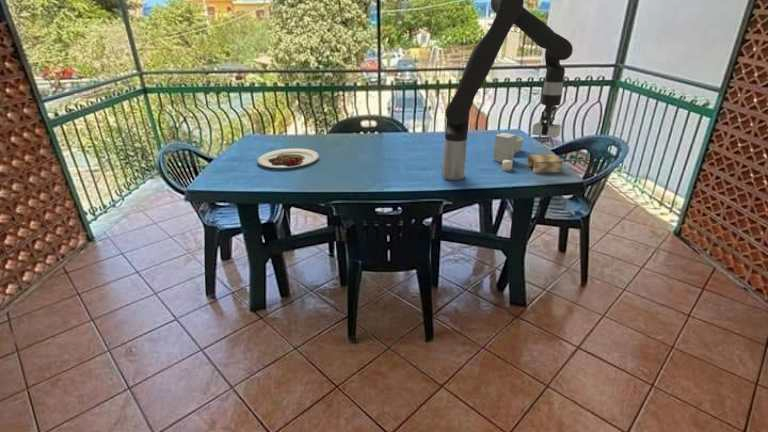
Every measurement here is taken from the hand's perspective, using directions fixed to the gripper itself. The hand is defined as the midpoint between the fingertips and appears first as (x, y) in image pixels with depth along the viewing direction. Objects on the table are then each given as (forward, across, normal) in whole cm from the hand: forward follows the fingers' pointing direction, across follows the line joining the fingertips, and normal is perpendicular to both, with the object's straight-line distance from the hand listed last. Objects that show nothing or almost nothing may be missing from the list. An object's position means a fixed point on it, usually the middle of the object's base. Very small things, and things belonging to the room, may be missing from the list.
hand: (546, 132), depth 177 cm
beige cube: (+18, -5, +14) cm, 23 cm away
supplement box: (+18, +7, +20) cm, 28 cm away
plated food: (+17, -50, +110) cm, 122 cm away
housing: (+1, 0, 0) cm, 1 cm away
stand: (+18, +5, 0) cm, 19 cm away
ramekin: (+18, +23, +23) cm, 37 cm away
